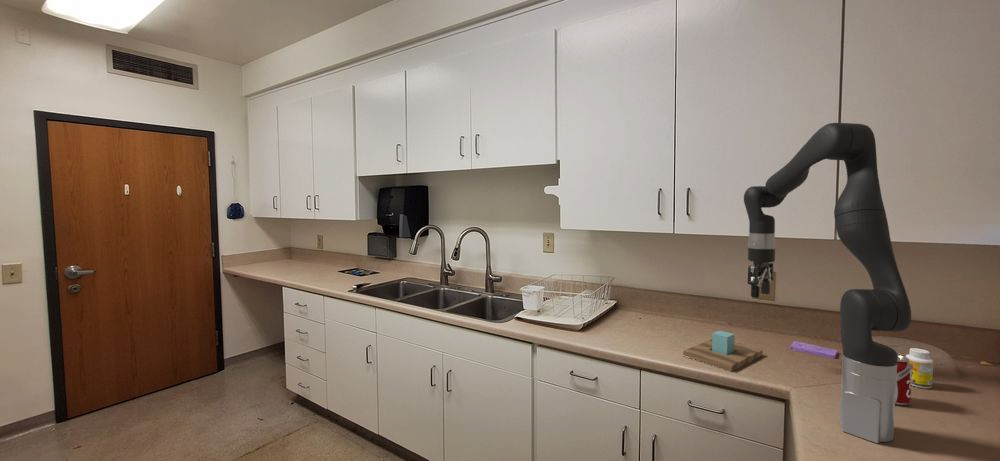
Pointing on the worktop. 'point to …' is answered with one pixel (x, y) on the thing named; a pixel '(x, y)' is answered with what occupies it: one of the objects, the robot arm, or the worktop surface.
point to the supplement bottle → (921, 368)
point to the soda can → (903, 381)
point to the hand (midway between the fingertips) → (760, 295)
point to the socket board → (723, 355)
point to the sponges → (814, 349)
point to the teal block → (723, 342)
